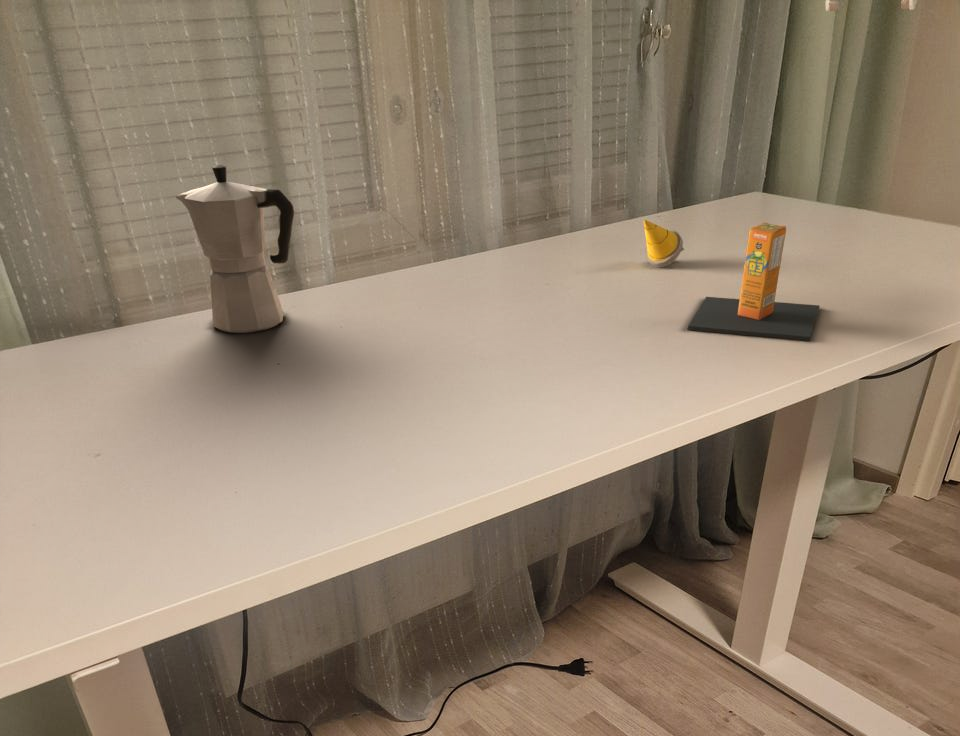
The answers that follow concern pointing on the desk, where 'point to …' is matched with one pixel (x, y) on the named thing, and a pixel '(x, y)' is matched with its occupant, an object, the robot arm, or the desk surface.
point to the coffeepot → (239, 250)
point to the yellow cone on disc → (661, 244)
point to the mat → (779, 324)
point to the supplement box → (761, 270)
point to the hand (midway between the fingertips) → (868, 6)
